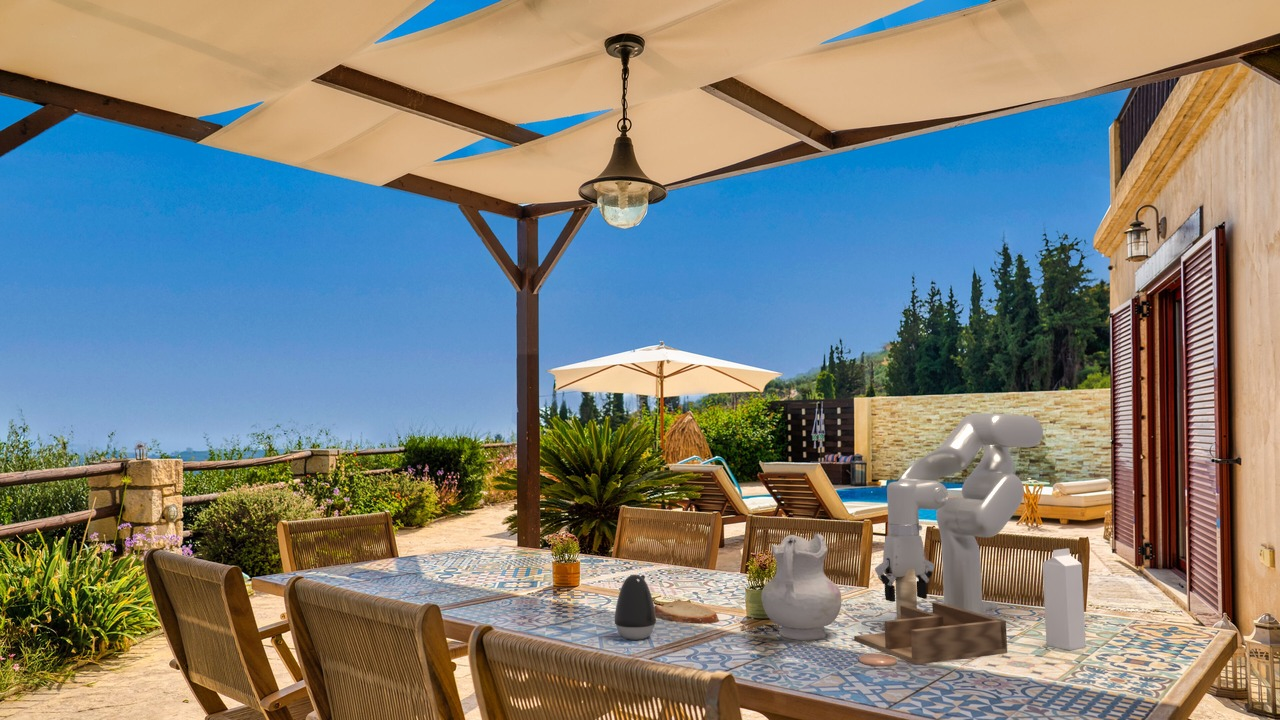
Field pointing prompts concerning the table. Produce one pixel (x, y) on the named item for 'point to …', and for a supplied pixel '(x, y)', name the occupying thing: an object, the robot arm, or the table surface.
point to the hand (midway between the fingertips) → (906, 599)
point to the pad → (877, 659)
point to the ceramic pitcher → (801, 589)
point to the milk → (1064, 601)
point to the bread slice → (686, 613)
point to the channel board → (939, 635)
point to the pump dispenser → (635, 609)
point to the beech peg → (906, 591)
